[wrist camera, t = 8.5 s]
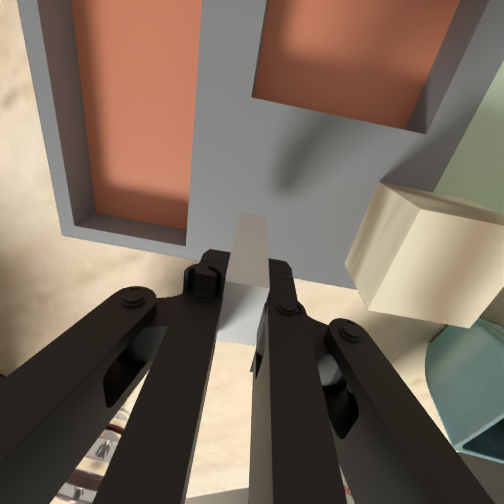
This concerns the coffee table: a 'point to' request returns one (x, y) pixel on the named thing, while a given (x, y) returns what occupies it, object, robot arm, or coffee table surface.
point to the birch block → (427, 256)
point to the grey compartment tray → (262, 117)
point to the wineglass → (95, 462)
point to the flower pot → (469, 386)
